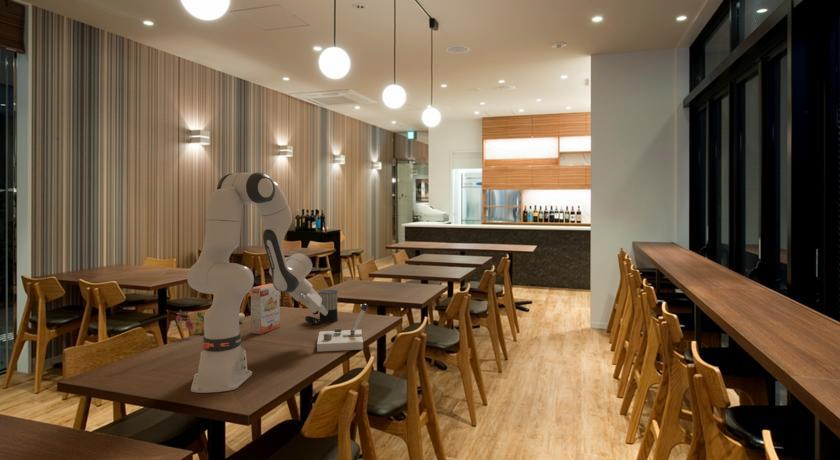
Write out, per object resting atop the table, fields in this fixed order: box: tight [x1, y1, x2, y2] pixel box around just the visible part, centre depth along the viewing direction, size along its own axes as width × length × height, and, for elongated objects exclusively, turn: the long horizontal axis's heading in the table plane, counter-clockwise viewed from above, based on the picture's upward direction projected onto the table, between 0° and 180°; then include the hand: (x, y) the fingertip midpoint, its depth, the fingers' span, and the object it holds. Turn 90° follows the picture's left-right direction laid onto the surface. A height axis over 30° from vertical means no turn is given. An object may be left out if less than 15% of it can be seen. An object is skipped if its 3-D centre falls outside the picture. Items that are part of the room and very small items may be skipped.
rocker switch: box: [333, 328, 342, 332], centre depth 220 cm, size 4×3×1 cm, turn 8°
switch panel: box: [316, 329, 364, 352], centre depth 216 cm, size 20×18×3 cm
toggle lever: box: [350, 303, 369, 335], centre depth 217 cm, size 3×3×14 cm
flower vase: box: [174, 309, 246, 335], centre depth 240 cm, size 12×12×35 cm
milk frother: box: [304, 289, 339, 326], centre depth 254 cm, size 14×16×15 cm
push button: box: [324, 333, 332, 340], centre depth 211 cm, size 3×3×2 cm
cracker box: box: [250, 283, 281, 335], centre depth 239 cm, size 14×6×21 cm, turn 159°
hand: (326, 313), depth 214 cm, fingers closed
